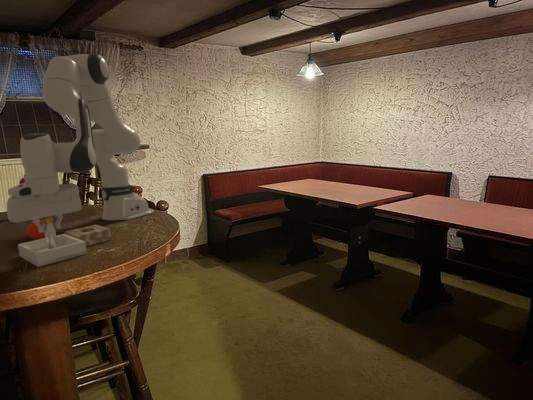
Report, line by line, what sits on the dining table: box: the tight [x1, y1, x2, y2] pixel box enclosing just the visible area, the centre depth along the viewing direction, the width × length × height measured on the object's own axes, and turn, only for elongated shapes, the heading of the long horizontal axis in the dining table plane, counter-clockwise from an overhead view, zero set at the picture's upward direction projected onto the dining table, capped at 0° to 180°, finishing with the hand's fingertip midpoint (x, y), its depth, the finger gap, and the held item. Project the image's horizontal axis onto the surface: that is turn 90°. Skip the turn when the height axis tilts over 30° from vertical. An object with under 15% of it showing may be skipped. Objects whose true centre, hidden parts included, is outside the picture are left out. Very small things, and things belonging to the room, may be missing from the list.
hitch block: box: [64, 224, 112, 247], centre depth 134 cm, size 11×11×4 cm
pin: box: [41, 216, 58, 249], centre depth 119 cm, size 3×3×10 cm
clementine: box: [26, 220, 45, 241], centre depth 138 cm, size 8×7×7 cm
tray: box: [17, 233, 88, 268], centre depth 119 cm, size 14×16×4 cm
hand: (49, 230), depth 118 cm, fingers closed on pin, 3 cm apart
